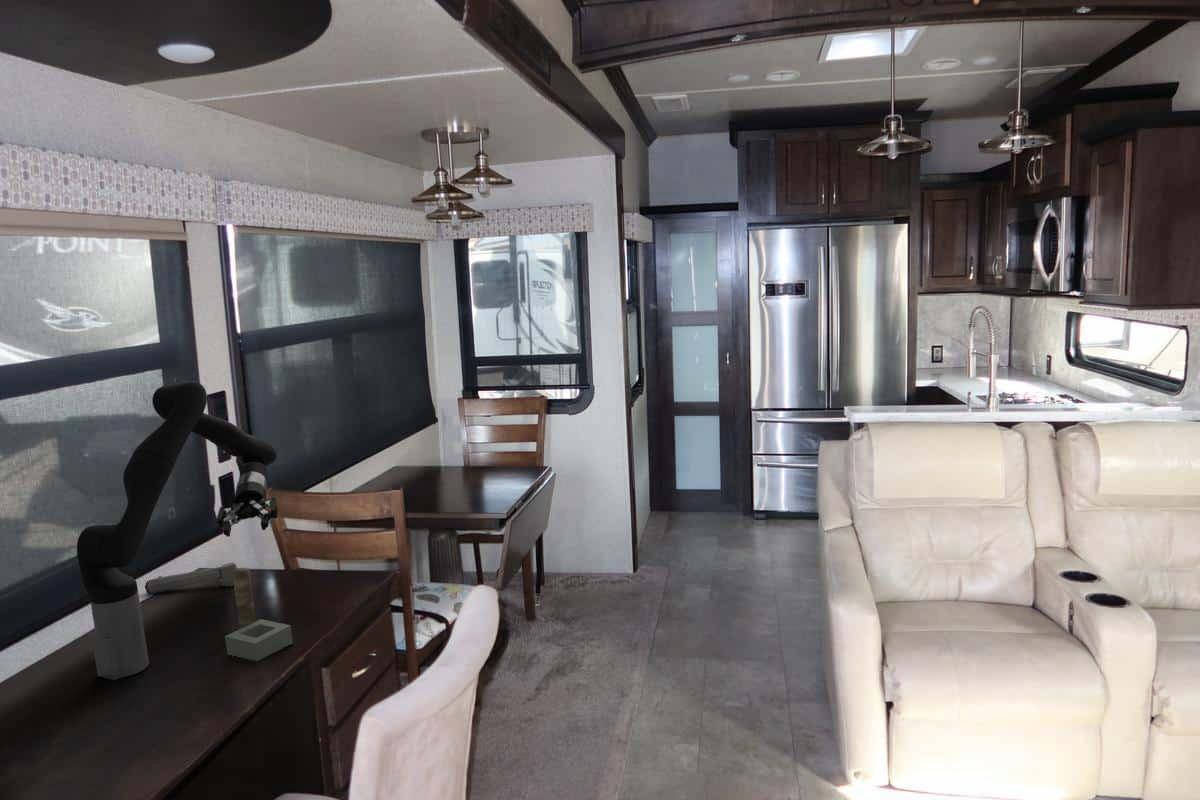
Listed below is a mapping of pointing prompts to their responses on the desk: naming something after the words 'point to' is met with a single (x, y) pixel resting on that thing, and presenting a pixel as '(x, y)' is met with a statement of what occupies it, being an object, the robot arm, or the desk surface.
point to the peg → (243, 597)
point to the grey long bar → (192, 578)
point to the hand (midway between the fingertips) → (245, 530)
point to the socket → (258, 639)
